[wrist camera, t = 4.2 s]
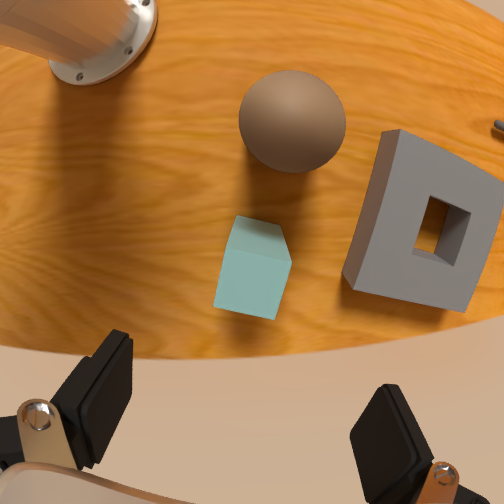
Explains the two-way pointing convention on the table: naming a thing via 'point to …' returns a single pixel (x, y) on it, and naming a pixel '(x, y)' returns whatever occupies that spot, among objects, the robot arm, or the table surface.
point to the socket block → (409, 221)
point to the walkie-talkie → (499, 125)
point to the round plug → (292, 121)
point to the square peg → (253, 269)
